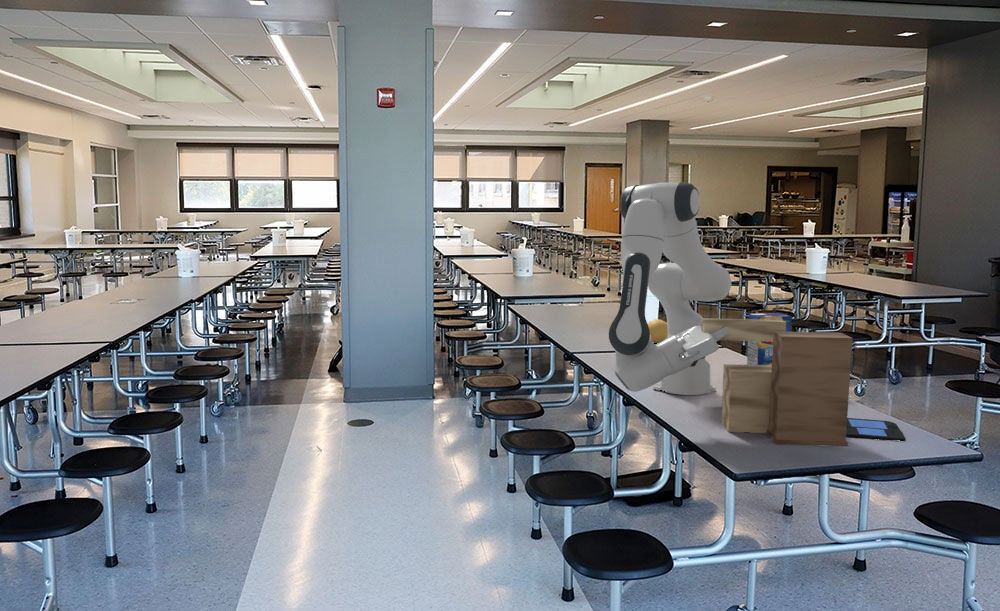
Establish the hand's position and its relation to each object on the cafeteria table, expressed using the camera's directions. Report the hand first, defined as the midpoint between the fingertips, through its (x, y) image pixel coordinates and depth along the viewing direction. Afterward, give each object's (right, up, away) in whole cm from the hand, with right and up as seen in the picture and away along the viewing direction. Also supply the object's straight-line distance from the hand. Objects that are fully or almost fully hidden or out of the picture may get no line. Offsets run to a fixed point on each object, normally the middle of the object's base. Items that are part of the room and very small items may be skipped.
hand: (726, 327), depth 196 cm
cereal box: (+28, -19, +53) cm, 63 cm away
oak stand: (+12, -26, +3) cm, 29 cm away
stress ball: (+7, -10, +121) cm, 122 cm away
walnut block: (+17, -27, -7) cm, 33 cm away
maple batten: (+4, -3, 0) cm, 5 cm away
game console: (+36, -27, 0) cm, 45 cm away
